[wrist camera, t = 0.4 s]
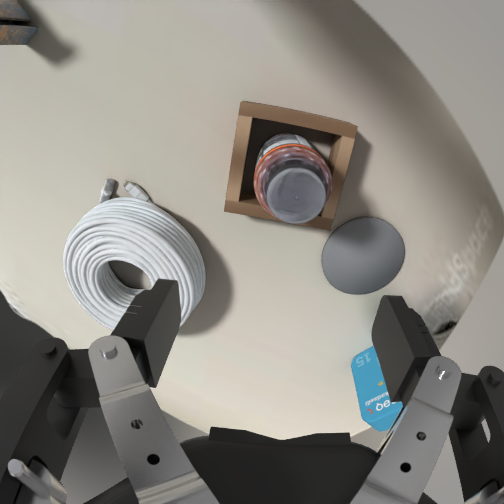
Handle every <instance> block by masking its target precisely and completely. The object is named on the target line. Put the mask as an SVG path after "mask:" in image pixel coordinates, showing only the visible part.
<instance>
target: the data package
mask: <svg viewBox="0 0 504 504" xmlns="http://www.w3.org/2000/svg"><path fill="white" fill-rule="evenodd" d="M351 368H352V372H353V377H354V382H355V386H356V391H357V396H358V401H359V406H360V411H361V416H362V419H363V420H364V421H365V422H367V423H368V424H369V425H370V426H372V427H373V428H374V429H376V430H378V431H385V430H388V429H390V427H391V426H392V424H393V422H394V420H395V419H396V417H397V415H398V413H399V411H400V410H401V408H402V407H403V405H402V402H392V403H391V402H390V398H389V394H388V391H387V387H386V384H385V381H384V377H383V374H382V370H381V367H380V364H379V361H378V357H377V354H376V351H375V348H374V346H373V347H371V348H369V349H367V350H365V351H364V352H362V353H360V354H358V355H357V356H356V357H355V358H354V359H353V361H352V364H351Z"/></svg>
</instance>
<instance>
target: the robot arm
mask: <svg viewBox="0 0 504 504" xmlns="http://www.w3.org/2000/svg"><path fill="white" fill-rule="evenodd" d="M180 323H181V305H180V294H179V284H178V281H177V280H170V279H160V278H159V279H157V281H156V282H155V284H154V286H153V287H152V289H151V290H146V289H145V290H143V291H142V292H141V293H139V294H138V295H136V296H135V297H134V299H133V300H132V302H131V304H130V306H129V307H128V308H127V310H126V313H124V314H123V316H122V318H121V319H120V321H119V322H118V324H117V325H116V327H115V329H114V330H113V332H112V333H111V335H110V336H104V337H101V338H99V339H97V340H96V341H94V342H93V343H92V344H91V346H90V347H89V349H75V350H68V347H67V345H66V343H65V342H64V341H63V340H62V339H59V338H47V339H44V340H42V341H40V342H39V343H38V344H37V345H36V346H35V347H34V348H33V350H32V351H31V353H30V354H29V356H28V357H27V359H26V360H25V362H24V363H23V365H22V366H21V368H20V369H19V371H18V372H17V374H16V375H15V377H14V378H13V380H12V382H11V383H10V385H9V386H8V388H7V390H6V391H5V393H4V395H3V396H2V398H1V400H0V504H66V499H67V494H66V490H65V487H64V486H63V484H62V483H61V482H60V480H61V477H62V474H63V471H64V468H65V466H66V463H67V460H68V458H69V455H70V453H71V450H72V447H73V445H74V442H75V440H76V437H77V435H78V432H79V429H80V427H81V425H82V422H83V420H84V417H85V415H86V413H87V410H88V408H89V407H102V410H103V413H104V416H105V419H106V422H107V425H108V428H109V431H110V434H111V436H112V439H113V442H114V444H115V447H116V449H117V452H118V454H119V457H120V459H121V462H122V464H123V466H124V469H125V471H126V473H127V476H128V477H127V478H125V479H124V480H122V481H121V482H119V483H118V484H116V485H114V486H113V487H111V488H110V489H108V490H106V491H104V492H103V493H101V494H100V495H98V496H96V497H94V498H93V499H91V500H89V501H87V502H86V503H84V504H437V503H436V502H435V501H434V500H432V499H431V498H430V497H429V496H428V495H426V494H425V493H424V492H423V491H424V489H425V487H426V485H427V483H428V480H429V478H430V476H431V474H432V471H433V470H434V467H435V465H436V463H437V460H438V458H439V456H440V453H441V451H442V448H443V446H444V443H445V440H446V438H447V435H448V433H449V437H450V440H451V444H452V448H453V452H454V456H455V460H456V464H457V469H458V473H459V478H460V482H461V487H462V492H463V497H464V504H504V372H503V371H502V370H500V369H499V368H497V367H494V366H485V367H483V368H482V369H481V371H480V372H479V374H478V375H477V376H476V375H471V374H465V373H461V370H460V368H459V366H458V365H457V364H456V363H455V362H454V361H453V360H451V359H449V358H446V357H443V356H441V354H440V352H439V350H438V348H437V346H436V344H435V342H434V340H433V338H432V336H431V335H430V334H429V331H428V329H427V327H425V323H424V321H423V320H422V318H421V316H420V315H419V314H418V313H417V312H415V311H414V310H413V309H412V308H408V306H407V304H406V302H405V301H404V299H403V297H402V296H390V295H384V296H383V297H382V299H381V301H380V305H379V308H378V311H377V314H376V317H375V320H374V324H373V327H372V342H373V345H374V348H375V351H376V354H377V357H378V361H379V364H380V367H381V370H382V374H383V377H384V381H385V384H386V387H387V391H388V394H389V398H390V402H391V403H392V402H402V405H403V407H402V408H401V410H400V411H399V413H398V415H397V417H396V419H395V420H394V422H393V424H392V426H391V427H390V429H389V431H388V433H387V434H386V436H385V438H384V440H383V441H382V443H381V444H380V446H379V447H378V449H377V450H376V451H374V450H372V449H371V448H369V447H366V446H364V445H361V444H358V443H353V442H351V440H350V433H316V434H312V435H307V436H302V437H297V438H292V439H286V440H278V439H274V438H270V437H267V436H263V435H260V434H256V433H253V432H249V431H246V430H237V429H228V428H219V427H211V429H210V434H209V436H202V437H196V438H192V439H189V440H186V441H183V442H181V443H179V442H178V440H177V439H176V437H175V435H174V433H173V432H172V430H171V428H170V426H169V424H168V423H167V421H166V419H165V417H164V415H163V413H162V411H161V409H160V407H159V405H158V403H157V401H156V399H155V397H154V395H153V393H152V391H151V389H150V387H153V388H156V386H157V384H158V381H159V378H160V376H161V373H162V371H163V368H164V365H165V363H166V360H167V358H168V355H169V353H170V350H171V347H172V345H173V342H174V340H175V337H176V335H177V332H178V330H179V327H180ZM484 419H486V422H487V424H488V427H489V430H490V434H491V436H490V441H489V443H488V441H487V438H486V435H485V432H484V430H483V427H482V424H481V423H482V421H483V420H484Z"/></svg>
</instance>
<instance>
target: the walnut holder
mask: <svg viewBox="0 0 504 504" xmlns="http://www.w3.org/2000/svg"><path fill="white" fill-rule="evenodd" d="M253 117H254V118H260V119H265V120H271V121H277V122H282V123H287V124H292V125H297V126H302V127H307V128H311V129H316V130H320V131H324V132H329V133H333V134H334V138H333V142H332V147H331V151H330V155H329V159H328V163H327V165H328V167H329V169H330V172H331V175H332V191H331V195H330V198H329V200H328V202H327V203H326V205H325V206H324V207H323V209H322V211H321V212H320V213H319V215H317V216H316V217H315V218H314V219H312V220H310V221H308V222H306V223H301V224H299V225H305V226H310V227H315V228H321V229H326V230H330V229H331V226H332V223H333V219H334V216H335V212H336V209H337V205H338V202H339V198H340V194H341V191H342V187H343V183H344V180H345V176H346V172H347V168H348V164H349V160H350V156H351V153H352V149H353V144H354V140H355V136H356V132H357V128H358V126H355V125H353V124H351V123H349V122H345V121H341V120H337V119H333V118H329V117H325V116H321V115H316V114H312V113H307V112H303V111H298V110H293V109H288V108H283V107H278V106H272V105H266V104H261V103H254V102H248V101H242V102H241V103H240V109H239V115H238V121H237V127H236V133H235V140H234V146H233V153H232V159H231V166H230V173H229V180H228V186H227V193H226V201H225V208H224V212H230V213H236V214H242V215H248V216H254V217H260V218H266V219H271V220H277V221H282V220H280V219H278V218H276V217H274V216H272V215H271V214H269V213H268V212H267V211H266V210H265V209H264V208H263V207H262V206H261V204H260V203H259V201H258V199H257V197H256V194H255V193H250V192H244V191H241V189H242V183H243V177H244V170H245V164H246V158H247V152H248V146H249V140H250V135H251V129H252V123H253ZM283 222H284V221H283Z"/></svg>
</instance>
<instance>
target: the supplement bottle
mask: <svg viewBox="0 0 504 504" xmlns="http://www.w3.org/2000/svg"><path fill="white" fill-rule="evenodd" d="M254 190H255V194H256V197H257V199H258V201H259V203H260V204H261V206H262V207H263V208H264V209H265V210H266V211H267V212H268V213H269V214H271V215H272V216H274V217H276V218H278V219H280V220H282V221H284V222H286V223H291V224H301V223H306V222H308V221H310V220H312V219H314V218H315V217H316V216H317V215H319V213H320V212H321V211H322V209H323V207H324V206H325V205H326V203H327V202H328V200H329V198H330V195H331V191H332V175H331V172H330V169H329V167H328V165H327V164H326V162H325V161H324V159H323V157H322V156H321V155H320V154H319V153H318V152H317V150H316V149H315V148H314V147H313V145H312V143H310V142H309V141H308V140H306V139H305V138H303V137H301V136H299V135H296V134H293V133H282V134H278V135H275V136H273V137H271V138H270V139H268V140H267V141H266V142H265V143H264V144H263V146H262V147H261V149H260V151H259V153H258V157H257V162H256V167H255V174H254Z"/></svg>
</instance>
